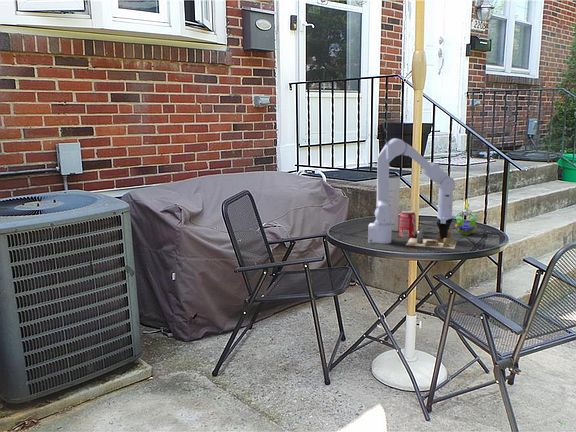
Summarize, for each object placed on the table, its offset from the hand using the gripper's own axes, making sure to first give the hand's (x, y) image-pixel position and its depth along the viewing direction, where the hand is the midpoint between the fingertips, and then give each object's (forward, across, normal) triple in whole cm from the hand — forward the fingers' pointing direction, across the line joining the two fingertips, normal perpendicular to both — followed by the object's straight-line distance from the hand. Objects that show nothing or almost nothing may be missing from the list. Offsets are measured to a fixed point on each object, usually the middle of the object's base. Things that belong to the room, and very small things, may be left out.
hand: (443, 237), depth 215 cm
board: (+3, -4, +4) cm, 7 cm away
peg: (+2, -6, +9) cm, 11 cm away
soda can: (+3, +6, +16) cm, 18 cm away
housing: (+2, 0, 0) cm, 2 cm away
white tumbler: (+3, +18, +27) cm, 33 cm away
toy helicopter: (+3, +20, -8) cm, 21 cm away
